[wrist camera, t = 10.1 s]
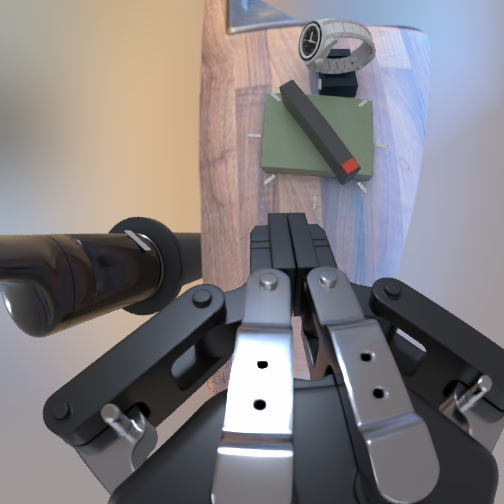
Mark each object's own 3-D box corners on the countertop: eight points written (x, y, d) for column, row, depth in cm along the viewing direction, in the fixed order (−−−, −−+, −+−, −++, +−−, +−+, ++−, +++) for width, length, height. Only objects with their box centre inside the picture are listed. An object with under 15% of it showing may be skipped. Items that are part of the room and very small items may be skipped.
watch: (299, 63, 32) (292, 10, 22) (360, 61, 31) (372, 10, 20) (304, 99, 33) (299, 50, 22) (368, 97, 31) (386, 50, 20)
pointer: (283, 105, 30) (278, 85, 25) (295, 98, 30) (292, 77, 25) (342, 185, 30) (347, 176, 25) (354, 177, 29) (361, 167, 25)
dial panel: (248, 206, 35) (241, 203, 31) (258, 88, 34) (253, 77, 30) (379, 218, 32) (385, 216, 29) (379, 97, 31) (384, 86, 28)
